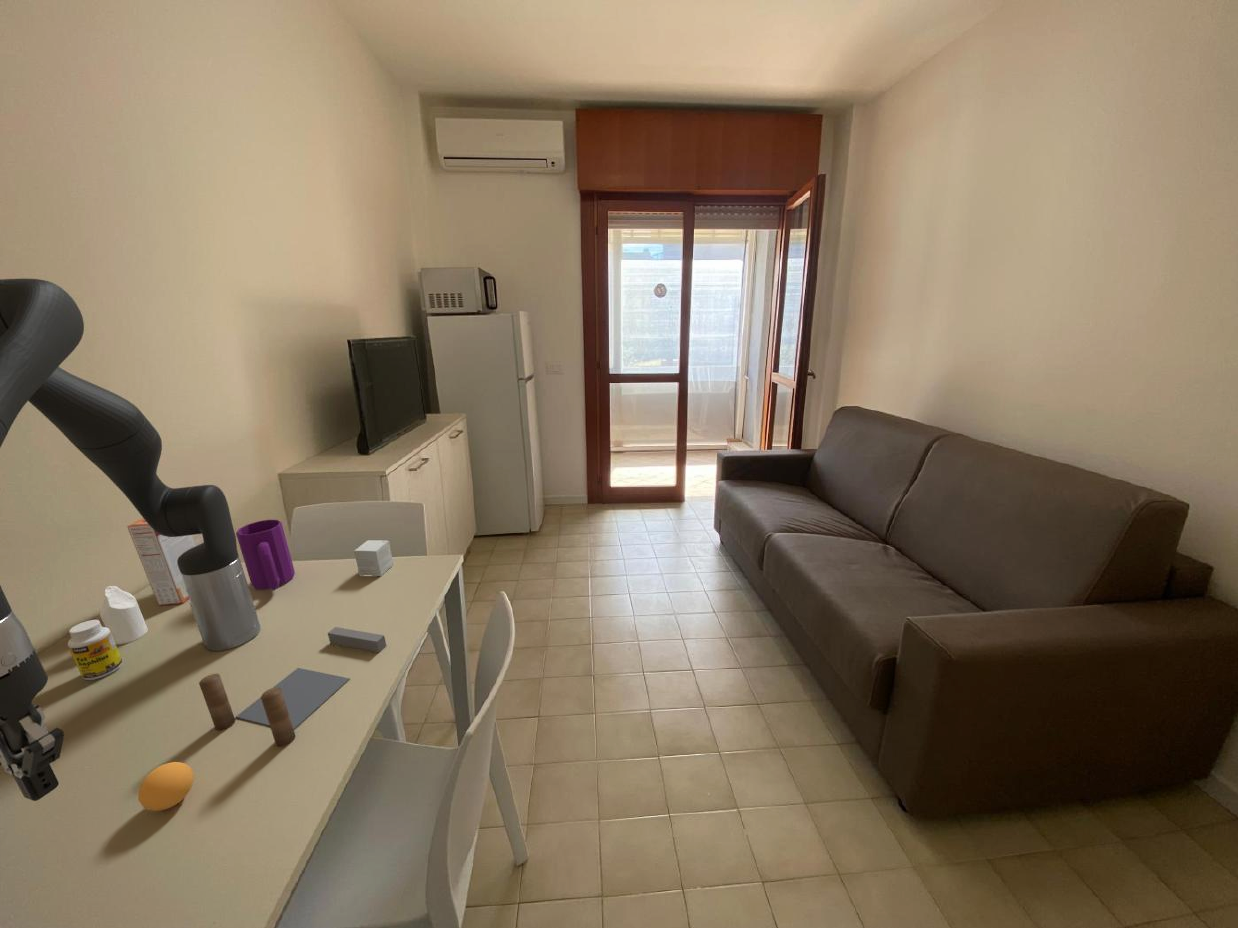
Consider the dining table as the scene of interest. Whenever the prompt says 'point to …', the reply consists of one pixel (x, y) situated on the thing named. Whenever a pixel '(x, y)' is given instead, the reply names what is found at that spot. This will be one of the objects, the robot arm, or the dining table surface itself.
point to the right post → (278, 716)
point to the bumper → (357, 639)
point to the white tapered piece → (122, 615)
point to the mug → (266, 554)
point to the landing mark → (298, 696)
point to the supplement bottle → (94, 650)
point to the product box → (374, 557)
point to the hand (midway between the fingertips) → (43, 792)
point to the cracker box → (162, 560)
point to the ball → (165, 786)
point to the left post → (217, 702)
